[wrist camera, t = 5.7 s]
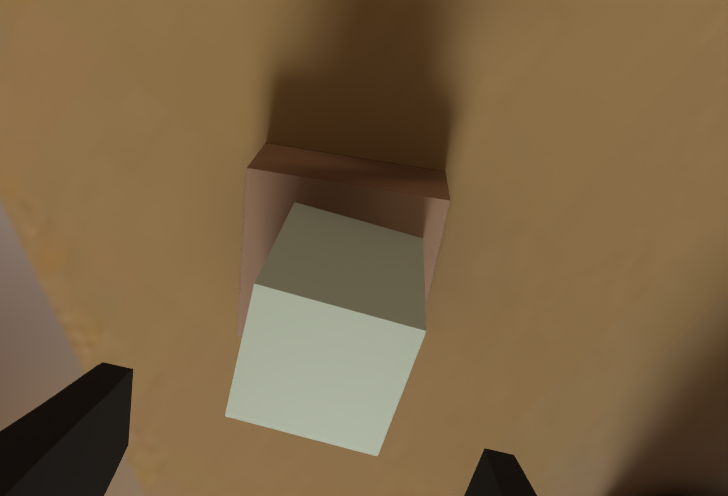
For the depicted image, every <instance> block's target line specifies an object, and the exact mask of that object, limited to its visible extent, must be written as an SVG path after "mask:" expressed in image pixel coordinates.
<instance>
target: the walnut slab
mask: <svg viewBox="0 0 728 496" xmlns="http://www.w3.org/2000/svg"><path fill="white" fill-rule="evenodd" d="M294 202H296V203H299V204H303V205H307V206H310V207H314V208H317V209H321V210H324V211H328V212H332V213H335V214H339V215H342V216H346V217H349V218H353V219H357V220H360V221H364V222H367V223H371V224H374V225H378V226H381V227H385V228H388V229H392V230H395V231H399V232H402V233H406V234H409V235H413V236H416V237H420V238H423V252H424V280H425V308H426V305H427V301H428V297H429V292H430V288H431V283H432V279H433V274H434V270H435V266H436V261H437V257H438V252H439V248H440V243H441V239H442V235H443V230H444V226H445V221H446V217H447V212H448V208H449V204H450V197H449V191H448V185H447V179H446V174H445V172H443V171H437V170H431V169H425V168H418V167H412V166H406V165H400V164H394V163H387V162H381V161H375V160H369V159H362V158H356V157H350V156H344V155H337V154H331V153H325V152H319V151H313V150H306V149H300V148H294V147H288V146H281V145H275V144H269V143H266V144H265V145H264V146H263V148H262V149H261V150H260V152H259V153H258V154H257V155H256V157H255V158H254V159H253V161H252V162H251V163H250V165H249V166H248V167H247V174H246V191H245V208H244V225H243V242H242V259H241V275H240V292H239V309H238V326H237V337H242V336H243V332H244V327H245V323H246V318H247V314H248V309H249V305H250V300H251V296H252V291H253V287H254V283H255V281H256V279H257V277H258V275H259V273H260V271H261V269H262V267H263V265H264V263H265V261H266V259H267V257H268V255H269V253H270V251H271V249H272V247H273V245H274V242H275V240H276V238H277V236H278V234H279V232H280V230H281V228H282V226H283V224H284V222H285V220H286V218H287V216H288V214H289V212H290V210H291V208H292V206H293V204H294Z"/></svg>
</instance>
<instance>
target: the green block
mask: <svg viewBox="0 0 728 496" xmlns="http://www.w3.org/2000/svg"><path fill="white" fill-rule="evenodd" d="M425 333H426V308H425V280H424V252H423V238H420V237H416V236H413V235H409V234H406V233H402V232H399V231H395V230H392V229H388V228H385V227H381V226H378V225H374V224H371V223H367V222H364V221H360V220H357V219H353V218H349V217H346V216H342V215H339V214H335V213H332V212H328V211H324V210H321V209H317V208H314V207H310V206H307V205H303V204H299V203H296V202H294V204H293V206H292V208H291V210H290V212H289V214H288V216H287V218H286V220H285V222H284V224H283V226H282V228H281V230H280V232H279V234H278V236H277V238H276V240H275V242H274V245H273V247H272V249H271V251H270V253H269V255H268V257H267V259H266V261H265V263H264V265H263V267H262V269H261V271H260V273H259V275H258V277H257V279H256V281H255V283H254V287H253V291H252V296H251V300H250V305H249V309H248V314H247V318H246V323H245V327H244V332H243V336H242V341H241V345H240V350H239V354H238V359H237V363H236V368H235V372H234V377H233V381H232V386H231V390H230V395H229V399H228V404H227V408H226V413H225V416H226V417H230V418H234V419H238V420H241V421H245V422H249V423H253V424H256V425H260V426H264V427H268V428H272V429H275V430H279V431H283V432H287V433H291V434H294V435H298V436H302V437H306V438H310V439H313V440H317V441H321V442H325V443H329V444H332V445H336V446H340V447H344V448H347V449H351V450H355V451H359V452H363V453H366V454H370V455H374V456H378V454H379V451H380V449H381V446H382V444H383V441H384V438H385V436H386V433H387V431H388V428H389V426H390V423H391V420H392V418H393V415H394V413H395V410H396V408H397V405H398V402H399V400H400V397H401V395H402V392H403V390H404V387H405V384H406V382H407V379H408V377H409V374H410V372H411V369H412V367H413V364H414V361H415V359H416V356H417V354H418V351H419V349H420V346H421V343H422V341H423V338H424V336H425Z"/></svg>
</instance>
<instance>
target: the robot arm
mask: <svg viewBox="0 0 728 496" xmlns="http://www.w3.org/2000/svg"><path fill="white" fill-rule="evenodd" d="M132 379H133V369H130V368H126V367H121V366H117V365H112V364H108V363H101V364H99V365H97V366H96V367H94V368H93V369H92V370H90V371H89V372H87V373H86V374H84V375H83V376H81V377H80V378H79V379H77V380H76V381H75V382H73V383H72V384H70V385H69V386H67V387H66V388H64V389H63V390H62V391H60V392H59V393H57V394H56V395H55V396H53V397H52V398H50V399H49V400H47V401H46V402H44V403H43V404H41V405H40V406H38V407H37V408H35V409H34V410H32V411H31V412H29V413H28V414H26V415H25V416H23V417H22V418H20V419H18V420H17V421H15V422H14V423H12V424H11V425H9V426H8V427H6V428H5V429H3V430H2V431H0V496H104V494H105V493H106V491H107V488H108V486H109V484H110V482H111V480H112V478H113V476H114V474H115V472H116V470H117V468H118V466H119V463H120V461H121V459H122V457H123V455H124V453H125V450H126V448H127V446H128V439H129V424H130V409H131V394H132ZM464 496H537V495H536V493H535V491H534V490H533V488H532V486H531V484H530V482H529V481H528V479H527V477H526V475H525V474H524V472H523V470H522V468H521V467H520V465H519V463H518V461H517V460H516V458H515V456H514V455H511V454H507V453H502V452H498V451H494V450H489V449H484V451H483V453H482V456H481V458H480V460H479V463H478V465H477V467H476V470H475V472H474V474H473V477H472V479H471V481H470V484H469V486H468V488H467V491H466V493H465V495H464Z"/></svg>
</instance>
